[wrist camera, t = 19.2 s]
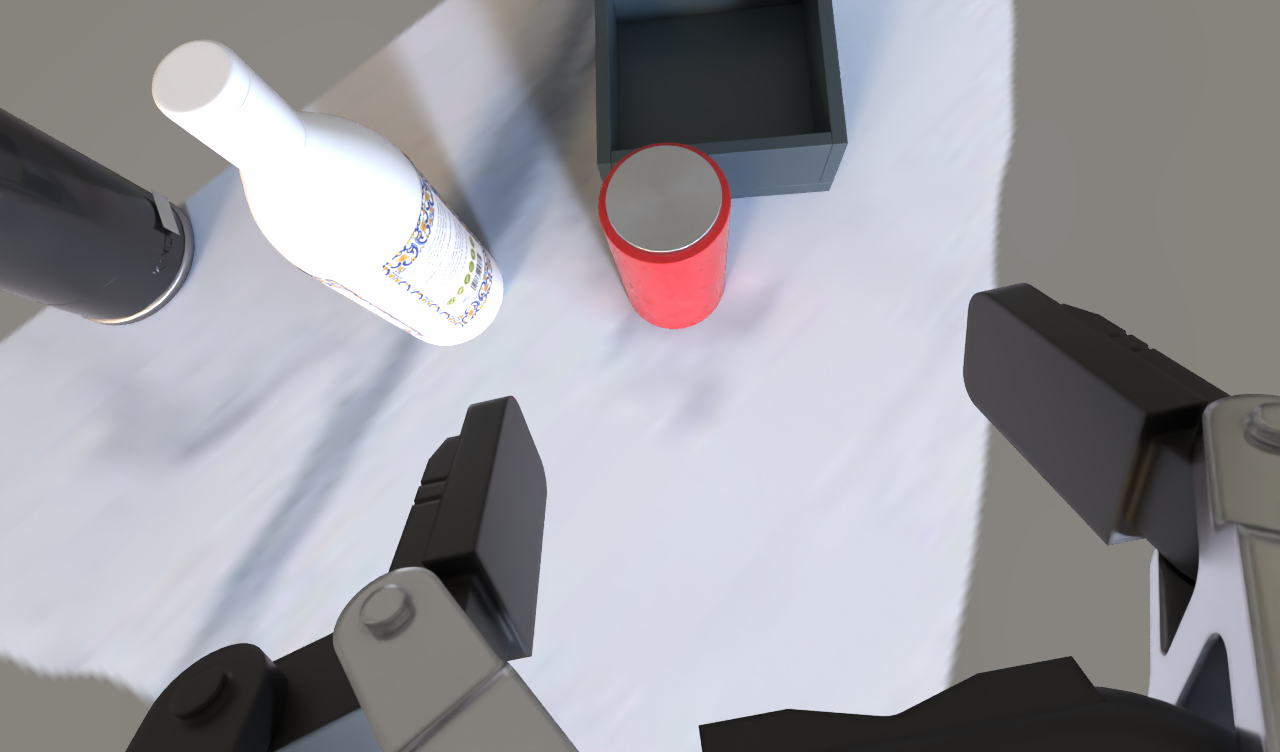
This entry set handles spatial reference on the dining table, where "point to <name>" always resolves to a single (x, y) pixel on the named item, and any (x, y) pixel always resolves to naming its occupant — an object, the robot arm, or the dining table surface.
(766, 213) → the dining table surface
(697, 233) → the can
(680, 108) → the tub
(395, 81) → the dining table surface
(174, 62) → the bath foam
